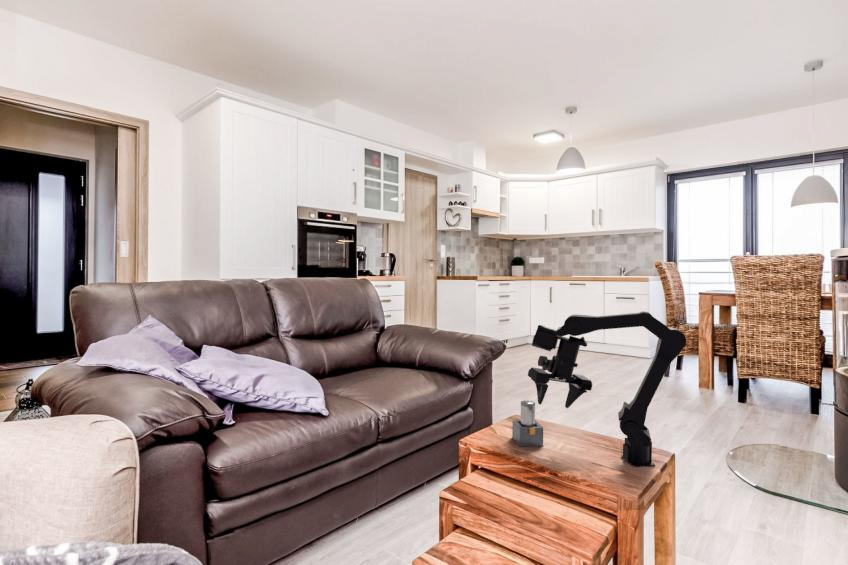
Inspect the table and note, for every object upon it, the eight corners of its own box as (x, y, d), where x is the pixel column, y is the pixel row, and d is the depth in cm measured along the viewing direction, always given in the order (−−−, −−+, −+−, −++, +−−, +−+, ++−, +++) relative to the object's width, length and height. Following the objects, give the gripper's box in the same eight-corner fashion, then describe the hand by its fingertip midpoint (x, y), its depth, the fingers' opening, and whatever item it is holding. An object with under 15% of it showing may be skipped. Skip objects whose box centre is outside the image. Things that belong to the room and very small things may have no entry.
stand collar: (535, 439, 138) (535, 419, 138) (544, 450, 130) (544, 428, 130) (511, 440, 137) (511, 419, 137) (519, 451, 129) (520, 429, 129)
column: (531, 438, 136) (532, 400, 136) (536, 444, 132) (537, 404, 131) (518, 439, 136) (518, 400, 135) (522, 444, 131) (523, 404, 131)
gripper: (578, 352, 139) (565, 398, 141) (526, 343, 135) (513, 391, 137) (599, 364, 129) (585, 414, 130) (543, 354, 124) (529, 406, 126)
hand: (553, 405), depth 131 cm, fingers open, 9 cm apart
